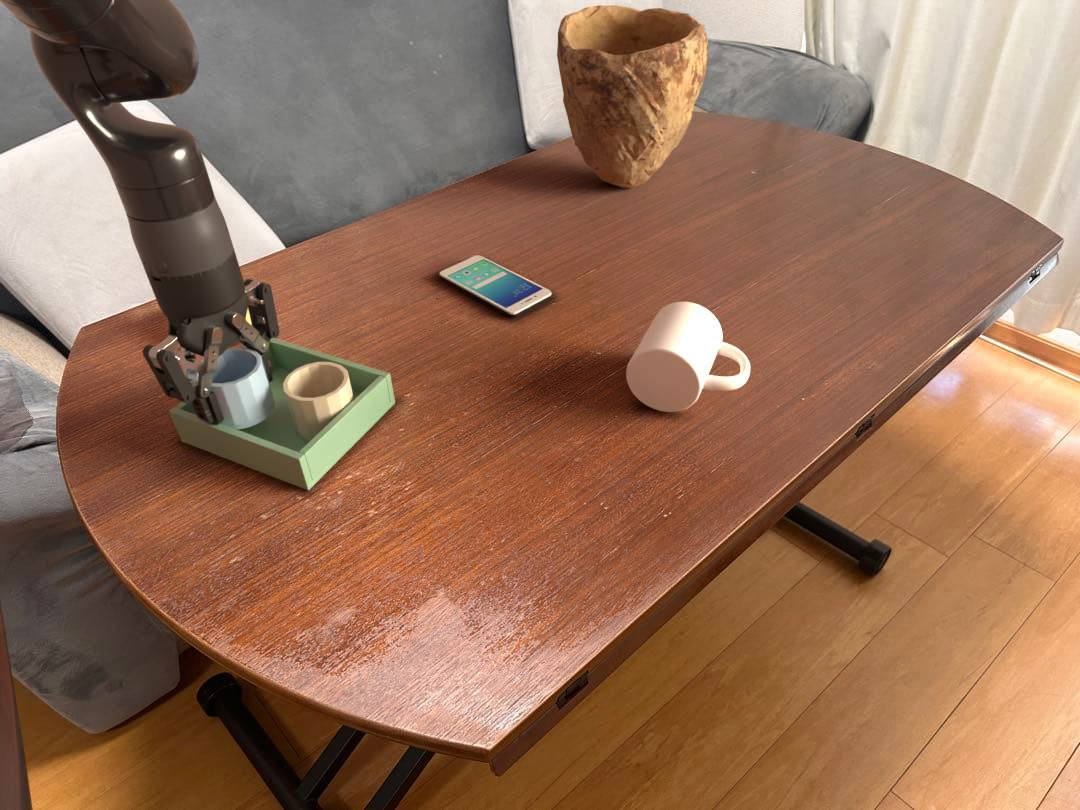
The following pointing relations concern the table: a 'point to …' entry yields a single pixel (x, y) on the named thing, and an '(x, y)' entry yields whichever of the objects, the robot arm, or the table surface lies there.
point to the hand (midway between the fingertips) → (239, 400)
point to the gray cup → (242, 388)
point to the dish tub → (276, 438)
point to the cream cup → (316, 396)
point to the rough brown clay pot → (629, 86)
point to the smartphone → (495, 286)
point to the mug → (681, 359)
